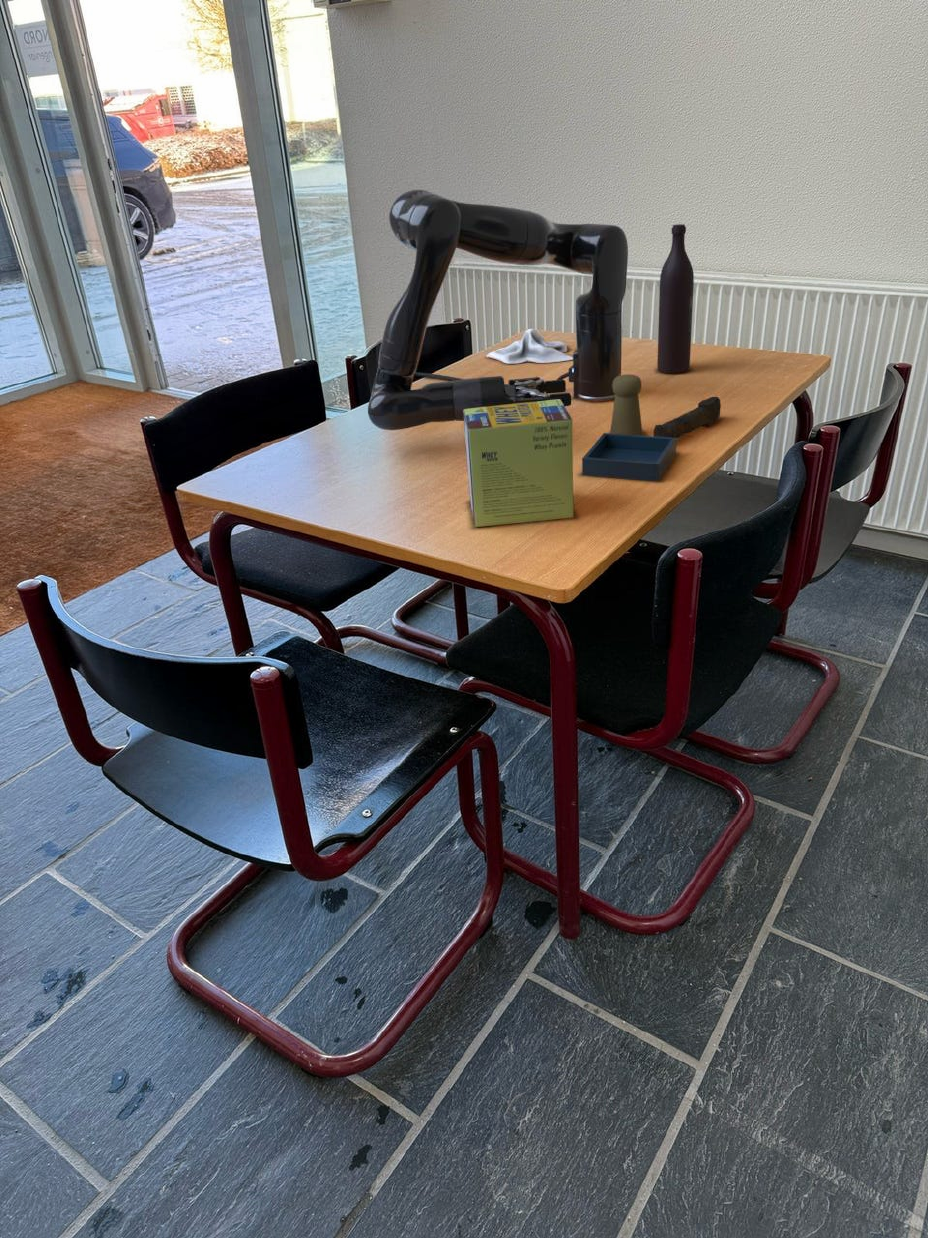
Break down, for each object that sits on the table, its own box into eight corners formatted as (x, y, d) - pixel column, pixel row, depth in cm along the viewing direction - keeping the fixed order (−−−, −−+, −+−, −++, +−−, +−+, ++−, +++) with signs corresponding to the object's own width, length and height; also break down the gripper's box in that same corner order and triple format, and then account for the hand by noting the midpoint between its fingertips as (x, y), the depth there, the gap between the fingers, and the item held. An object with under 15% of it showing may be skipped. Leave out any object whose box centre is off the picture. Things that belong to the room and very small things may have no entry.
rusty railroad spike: (670, 448, 160) (671, 423, 158) (651, 444, 163) (652, 419, 160) (731, 420, 171) (733, 396, 168) (713, 416, 173) (715, 392, 171)
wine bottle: (692, 373, 199) (699, 225, 184) (660, 375, 200) (664, 228, 185) (686, 364, 205) (692, 221, 190) (654, 366, 206) (658, 224, 191)
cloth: (479, 363, 220) (477, 337, 217) (506, 344, 235) (505, 319, 232) (566, 366, 212) (566, 339, 209) (589, 346, 226) (589, 321, 223)
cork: (635, 442, 164) (636, 381, 159) (604, 438, 167) (604, 378, 162) (647, 431, 169) (649, 372, 163) (617, 428, 172) (618, 370, 166)
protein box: (575, 518, 138) (573, 418, 130) (474, 528, 137) (466, 429, 129) (563, 492, 147) (561, 397, 139) (468, 501, 146) (461, 407, 138)
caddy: (582, 475, 152) (582, 458, 151) (603, 449, 163) (603, 432, 161) (658, 481, 148) (659, 464, 146) (675, 454, 158) (676, 437, 156)
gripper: (478, 389, 156) (573, 382, 156) (476, 368, 168) (563, 361, 168) (481, 431, 160) (573, 424, 159) (478, 407, 172) (564, 401, 172)
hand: (568, 392), depth 164 cm, fingers open, 8 cm apart
